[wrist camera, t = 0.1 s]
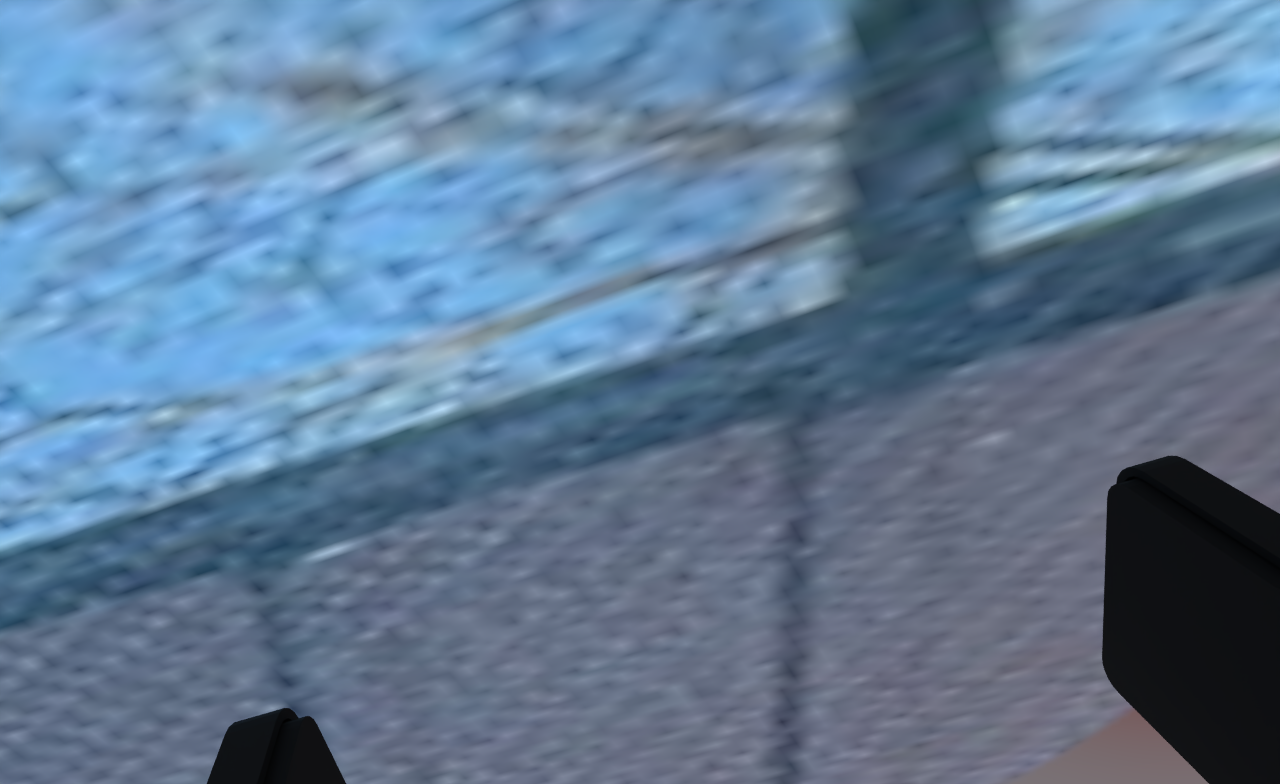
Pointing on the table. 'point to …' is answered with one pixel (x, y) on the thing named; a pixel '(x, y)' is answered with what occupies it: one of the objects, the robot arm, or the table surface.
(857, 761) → the table surface
